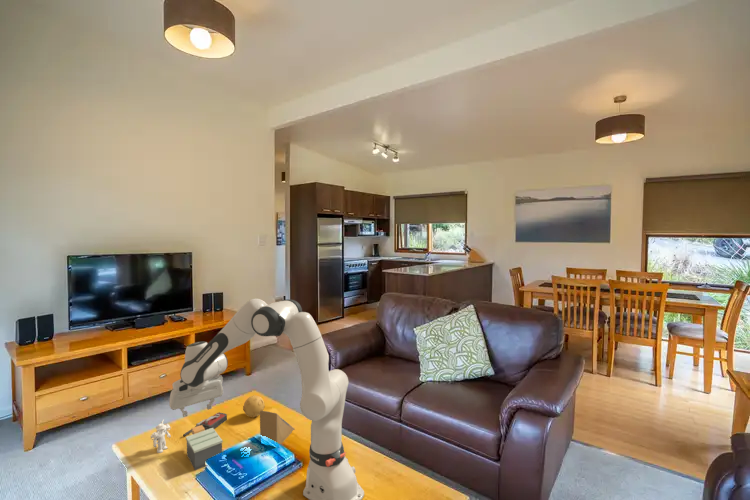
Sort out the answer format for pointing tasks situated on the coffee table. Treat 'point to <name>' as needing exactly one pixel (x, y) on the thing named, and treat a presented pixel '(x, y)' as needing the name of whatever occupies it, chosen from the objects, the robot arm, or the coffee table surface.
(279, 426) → the sandwich container
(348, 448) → the coffee table surface
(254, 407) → the stress ball
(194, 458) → the parts tub
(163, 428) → the flower shoulder figurine
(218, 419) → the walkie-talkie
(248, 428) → the coffee table surface
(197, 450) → the lid
